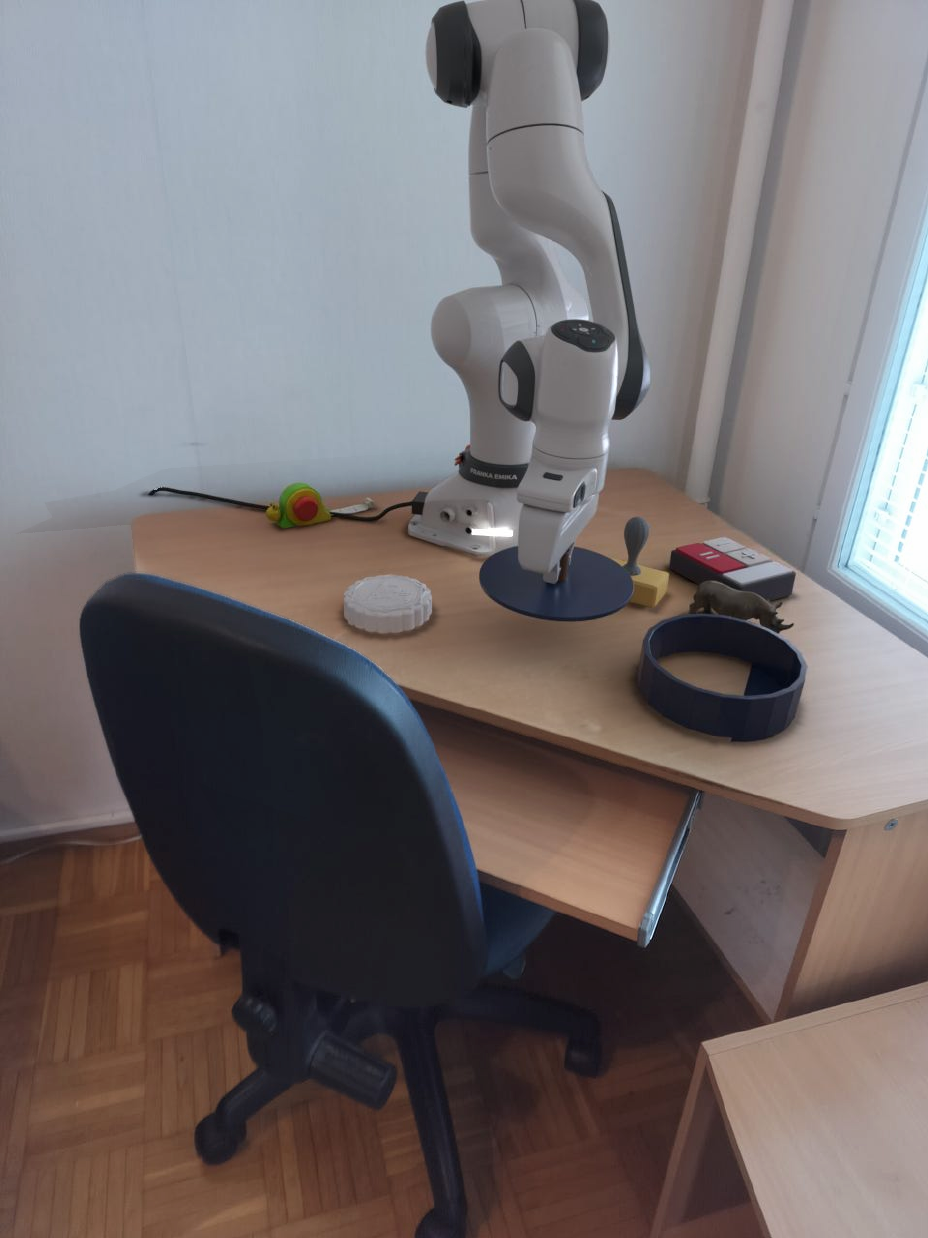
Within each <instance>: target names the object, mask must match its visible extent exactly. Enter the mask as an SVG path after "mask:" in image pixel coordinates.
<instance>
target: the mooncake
mask: <svg viewBox="0 0 928 1238" xmlns="http://www.w3.org/2000/svg"><path fill="white" fill-rule="evenodd" d="M432 614H433V596H432V591H431V589H430V588H428V587H427V585H426V584H425V583H423V582H420V581H419V580H418V579H416V578H409V577H408V576H405V575H397V574H393V573H389V574H385V575H384V574H378V575H375V576H368V577H364V578H363V579H360V580H356V581H355V582H354V583H353V584H351V585H348V586H347V588H346V591H344V592H343V616H344V619H345V620H346V621H347V623H348V625H349V626H351V627H353V626H354V627H355V628H357V629H361V630H363V629H364V631H366V632H369V633H375V632H377V633H378V634H389V633H392V634H398V633H401V632H403V631H405V632H407V631H412V630H413V629H415V628H417V627H418V628H419V627H421V626H422V625H424V622H427V621H429V620H430V616H431V615H432Z"/></svg>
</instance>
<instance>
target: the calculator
mask: <svg viewBox="0 0 928 1238" xmlns="http://www.w3.org/2000/svg"><path fill="white" fill-rule="evenodd" d="M771 559H772V558H771V557H769V556H766V555H765V554H763V553H760V552H758V551H756V550H754V549H751V548H747V547H746V546H745V545H743V544H742V543H739V542H737V541H735V540H733V539H731V538H728V537H726V536H722V537H718V538H713V539H708V540H705V541H702V543H701V542H695V543H691V544H687V545H681V546H677V547H676V548H675V549H672V550H671V551H670V557H669V565H668V567H669V570H672V571H673V572H675V573H677V574H679V575H681V576H682V577H684V578H686V579H688V580H690V581H691V582H693V583H695V584H697V585H698V586H699V585H700V584H701V583H703V582H705V581H717V582H720V583H722V584H724V585H726V586H728V587H730V588H732V589H736V590H739V591H749V592H753V593H756V594H758V595H759V596H761V597H762V598H764V599H765V600H766V601H770V602H771V601H774V600H779V599H782V598H785V597H789V596H791V595H792V594H793V590H794V585H795V581H796V576H797V573H796V572H795V571H794V570H792V569H791V568H789V567H787V566H785V565H783V564H781V563H778V562H777V561H773V560H771Z"/></svg>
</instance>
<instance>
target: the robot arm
mask: <svg viewBox="0 0 928 1238" xmlns="http://www.w3.org/2000/svg"><path fill="white" fill-rule="evenodd" d="M610 51H611V39H610V32H609V26H608V20H607V15H606V13H605V11H604V10H603V8H602V6H601V5H600V3H599V2H597V1H595V0H476V1H473V2H468V3H466V1H465V0H459V1H454V2H452V3H451V2H450V3H447V4H445V5H443V6H440V7H439V8H438V9H437V11H436V12H435V14H434V15H433V16H432V18H431V23H430V28H429V30H428V34H427V36H426V43H425V54H424V55H425V65H426V70H427V74H428V77H429V80H430V82H431V85H432V87H433V91H434V93H435V95H436V96H437V97H438V98H439V99H440V100H441V101H442V102H443V103H444V104H448V105H450V106H454V107H459V108H464V109H467V108H468V107H470V106H471V112H470V113H471V114H470V122H469V133H468V147H467V150H468V151H467V174H468V177H467V179H468V202H469V203H468V204H469V229H470V230H469V231H470V235H471V237H472V240H473V242H474V244H475V245H476V246H477V247H478V248H479V249H480V250H481V251H483V252H484V253H486V254H488V255H490V257H491V258H492V259H493V261H494V263H495V264H496V266H497V269H498V272H499V276H500V281H501V285H488V286H475V287H469V288H466V289H463V290H461V291H458V292H455V293H452V294H450V295H447V296H444V297H443V298H442V299H440V301H438V303H437V304H436V306H435V309H434V311H433V313H432V316H431V321H430V337H431V338H430V339H431V341H432V345H433V348H434V350H435V352H436V354H437V355H438V357H439V358H440V359H441V361H443V363H444V364H445V365H447V366H448V367H450V368H451V369H452V370H453V371H454V372H455V374H456V375H457V376H458V377H459V379H460V381H461V383H462V385H463V388H464V390H465V392H466V395H467V402H468V406H469V444H467V445H466V446H465V448H464V450H462V451H461V452H459V455H458V456H457V457H455V458H454V461H455V462H454V467H456V466H458V470H457V471H455V472H454V473H452V474H451V475H449V476H448V477H446V478H445V479H443V480H441V481H440V482H439V483H438V484H436V485H434V487H432V488H431V489H430V490H429V491H420V490H419V491H418V492H417V494H416V495H415V496H414V497H413V499H411V500H410V501H405V502H400V503H396V504H392V505H390V506H388V507H386V508H385V509H384V510H382V511H381V512H380V513H379V514H378V515H374V516H357V515H352V514H349V513H347V514H344V513H337V512H330V515H331V517H336V518H342V519H348V520H353V521H359V522H375V521H378V520H381V519H382V518H384V517H385V515H387V514H388V513H390V512H392V511H395V510H397V509H401V508H406V507H411V515H414V516H413V517H412V518H411V519H410V520H409V522H408V525H407V534H408V535H409V536H411V537H412V538H413V537H414V538H417V539H418V540H419V539H420V540H422V541H425V542H428V543H432V544H435V545H437V546H441V547H445V546H446V547H450V548H452V549H456V550H458V551H461V552H465V553H468V554H471V555H474V556H477V557H487V556H492V555H493V554H495V553H497V552H499V551H502V550H504V549H507V548H511V547H515V546H518V560H519V563H520V566H521V567H522V568H523V569H525V570H528V571H532V572H536V573H541V574H543V580H544V581H545V582H548V583H552V584H555V583H556V582H557V581H558V579H559V578H560V573H561V567H559V561H560V559H561V557H562V556H563V555H564V553H565V552H566V551H567V550H568V548H569V549H570V554H569V562H568V566H569V565H570V561H571V554H572V551H573V548H574V547H575V545H576V542H577V539H578V537H579V535H580V534H582V532H583V531H584V530H585V528H586V527H587V526H588V525H589V523H590V522H591V520H592V519H593V518H594V517H595V515H596V513H597V509H598V505H599V497H600V492H602V491H603V489H604V488H605V483H606V476H607V467H608V463H609V462H608V461H609V454H610V447H611V445H610V439H609V429H610V424H611V422H612V421H622V420H624V419H627V418H628V417H629V416H630V415H631V414H632V413H633V412H635V411H636V409H637V408H638V407H639V406H640V405H641V404H642V402H643V401H644V399H645V398H646V397H647V394H648V392H649V389H650V385H651V367H650V361H649V357H648V354H647V351H646V348H645V345H644V342H643V340H642V339H643V338H642V336H641V333H640V329H639V325H638V320H637V319H638V318H637V314H636V309H635V303H634V302H635V301H634V297H633V291H632V286H631V278H630V273H629V269H628V268H629V267H628V262H627V257H626V250H625V246H624V240H623V236H622V230H621V227H620V221H619V217H618V213H617V211H616V206H615V203H614V201H613V199H612V198H611V196H610V195H609V194H607V193H606V192H605V191H603V189H601V187H600V186H599V184H598V183H597V180H596V179H595V177H594V175H593V172H592V170H591V166H590V164H589V161H588V157H587V152H586V148H585V147H586V146H585V137H584V136H585V133H584V131H585V129H584V116H583V115H584V114H583V106H582V102H584V101H585V100H587V99H589V98H590V97H591V96H592V95H593V94H594V93H595V91H596V90H597V89H598V88H599V87H600V86H601V84H602V83H603V81H604V77H605V74H606V69H607V66H608V63H609V60H610V59H609V58H610ZM555 243H556V244H558V245H559V246H561V247H562V248H564V249H565V250H567V251H568V252H569V253H571V254H572V255H573V256H574V258H575V259H576V260H577V261H578V263H579V265H580V266H581V269H582V271H583V274H584V279H585V285H586V289H587V295H588V301H589V306H590V311H591V312H590V313H591V317H592V321H590V313H589V307H588V304H587V301H586V299H585V297H584V295H583V293H582V292H581V291H580V290H579V289H578V288H577V287H576V286H575V285H574V284H572V282H571V281H570V280H569V278H568V277H567V275H566V273H565V271H564V270H563V267H562V265H561V263H560V260H559V257H558V254H557V251H556V247H555ZM159 487H160V488H158V487H157V488H158V489H157V490H154V489H155V488H153V489H151V490H150V491H149V493H148V494H147V495H148V496H153V495H156V493H158V492H159V493H160V492H167V493H173V494H176V495H184V496H191V497H197V498H202V499H207V500H212V501H215V502H216V501H217V502H220V503H226V504H231V505H236V506H240V507H241V506H242V507H247V508H252V509H258V510H264V511H267V509H268V508H269V507H271V506H270V505H264V504H259V503H252V502H247V501H241V500H236V499H231V498H226V497H222V496H216V495H211V494H206V493H201V492H196V491H191V490H182V489H176V488H172V487H168V486H159ZM161 487H162V488H161ZM278 508H279V506H278ZM332 514H333V515H332Z"/></svg>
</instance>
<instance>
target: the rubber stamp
mask: <svg viewBox="0 0 928 1238" xmlns="http://www.w3.org/2000/svg"><path fill="white" fill-rule="evenodd" d="M649 534H650V526H649V523H648V521H647V520H646V519H645V518H643V517H641V516H634V517H631V518H630V519H629V520H627V522H626V524H625V525H624V530H623V538H624V544H625V547H626V551H627V561H625V560H621V559H617V558H613V557H610V556H607V557H608V558H610V559H612V560H614V561H615V562H617V563H618V564H620V565H621V566H622V567H623V568H624V569H625V570H626V571H627V572H628V573H629V574H630V576H631V578H632V580H633V583H634V592H633V596H632V598H631V600H630V601H629V603H634V604H638V605H640V606H641V605H642V606H646V607H649V608H656V606H657V605H658V603H659V602H660V601H661V600H662V598H663V597H665V595H666V594H667V592H668V591H667V590H668V584H669V580H670V579H669V578H670V573H669V572H667V571H663V570H660V569H656V568H652V567H648V566H645V565H641V564H638V563H637V561H638V557H639V555H640V553H641V552H642V550H643V548H644V547H645V546H646V545H645V544H646V543H647V541H648V538H649Z"/></svg>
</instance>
